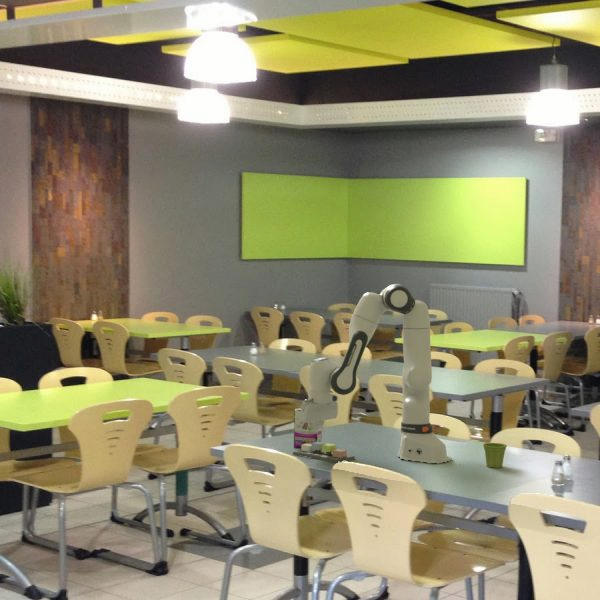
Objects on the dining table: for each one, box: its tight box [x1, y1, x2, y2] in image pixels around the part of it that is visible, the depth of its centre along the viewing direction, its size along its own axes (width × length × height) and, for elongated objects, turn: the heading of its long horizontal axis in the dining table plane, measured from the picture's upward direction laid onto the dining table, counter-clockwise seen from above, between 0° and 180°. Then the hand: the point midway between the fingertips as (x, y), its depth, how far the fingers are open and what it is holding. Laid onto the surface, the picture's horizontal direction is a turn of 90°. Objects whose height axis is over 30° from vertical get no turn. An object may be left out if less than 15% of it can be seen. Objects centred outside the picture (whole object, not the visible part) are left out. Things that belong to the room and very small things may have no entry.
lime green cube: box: [322, 443, 337, 454], centre depth 450 cm, size 4×4×4 cm
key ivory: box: [300, 443, 315, 453], centre depth 458 cm, size 4×4×4 cm
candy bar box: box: [293, 407, 323, 449], centre depth 471 cm, size 11×5×16 cm, turn 62°
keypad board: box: [292, 449, 356, 464], centre depth 452 cm, size 23×11×2 cm, turn 49°
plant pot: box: [482, 442, 508, 469], centre depth 439 cm, size 9×9×9 cm
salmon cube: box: [333, 448, 348, 459], centre depth 447 cm, size 4×4×4 cm
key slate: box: [312, 441, 327, 452], centre depth 454 cm, size 4×4×4 cm
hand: (318, 431), depth 454 cm, fingers closed
